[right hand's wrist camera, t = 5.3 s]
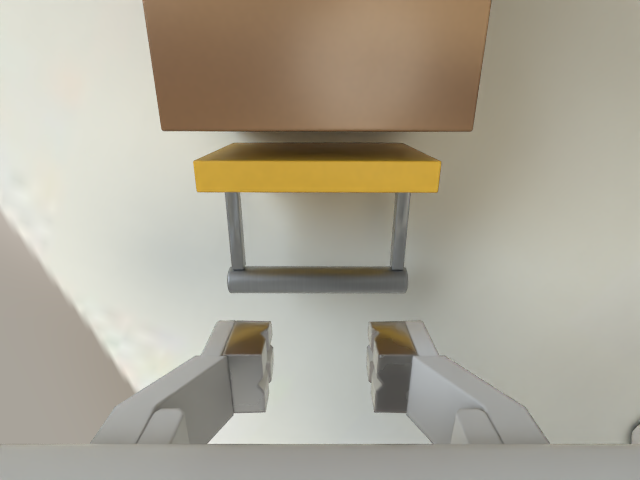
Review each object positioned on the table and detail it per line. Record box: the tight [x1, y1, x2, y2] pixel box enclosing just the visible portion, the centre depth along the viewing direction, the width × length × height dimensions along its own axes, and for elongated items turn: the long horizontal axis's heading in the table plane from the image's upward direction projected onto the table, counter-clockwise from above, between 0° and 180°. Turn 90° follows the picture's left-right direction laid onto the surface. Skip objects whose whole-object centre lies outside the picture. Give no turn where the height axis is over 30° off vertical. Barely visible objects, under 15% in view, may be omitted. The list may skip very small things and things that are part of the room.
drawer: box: [193, 143, 441, 293], centre depth 15 cm, size 22×9×6 cm, turn 0°
